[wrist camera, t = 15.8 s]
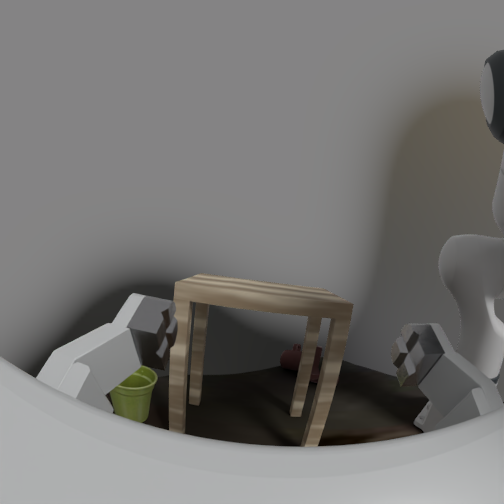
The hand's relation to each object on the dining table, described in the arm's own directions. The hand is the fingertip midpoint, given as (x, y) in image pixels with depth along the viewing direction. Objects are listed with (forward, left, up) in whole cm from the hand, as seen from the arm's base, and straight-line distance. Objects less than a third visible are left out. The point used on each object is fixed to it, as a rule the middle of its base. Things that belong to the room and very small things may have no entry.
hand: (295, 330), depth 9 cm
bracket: (-54, -24, -29) cm, 66 cm away
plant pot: (-9, -33, -29) cm, 45 cm away
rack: (-24, -20, -28) cm, 42 cm away
